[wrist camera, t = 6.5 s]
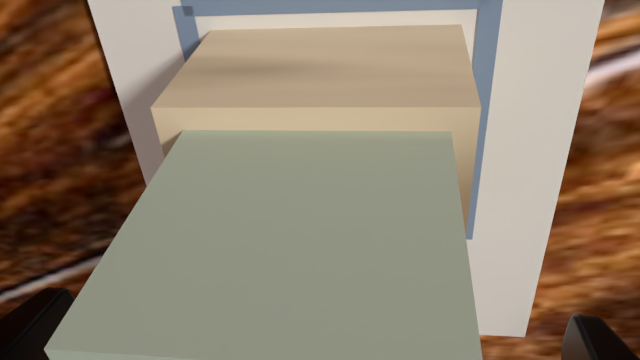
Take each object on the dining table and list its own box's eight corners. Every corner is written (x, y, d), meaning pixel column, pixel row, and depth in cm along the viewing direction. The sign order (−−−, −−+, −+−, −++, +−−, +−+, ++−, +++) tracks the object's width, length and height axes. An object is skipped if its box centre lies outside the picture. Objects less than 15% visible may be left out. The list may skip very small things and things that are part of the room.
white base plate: (522, 327, 19) (524, 337, 18) (191, 309, 20) (188, 319, 20) (659, -269, 9) (669, -270, 9) (31, -211, 11) (19, -211, 11)
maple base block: (444, 222, 16) (454, 332, 13) (246, 217, 17) (210, 319, 14) (461, 24, 12) (480, 107, 9) (211, 29, 13) (150, 107, 10)
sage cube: (435, 317, 13) (450, 567, 9) (227, 306, 13) (150, 533, 9) (451, 131, 10) (485, 379, 6) (183, 130, 10) (43, 349, 6)
